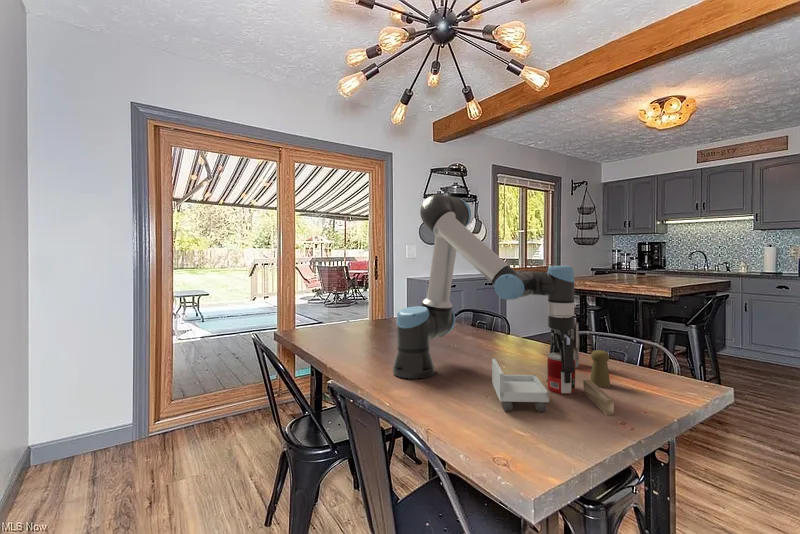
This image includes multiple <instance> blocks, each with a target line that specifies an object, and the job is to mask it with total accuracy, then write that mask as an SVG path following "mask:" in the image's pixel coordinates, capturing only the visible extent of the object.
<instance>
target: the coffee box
mask: <svg viewBox="0 0 800 534" xmlns="http://www.w3.org/2000/svg"><path fill="white" fill-rule="evenodd" d="M579 325H580V323H579V322H577V321H574V329H571V330H568V334H569V336H570V338H573V356H575V369H577V368H578V367H579V365H580V346H579V345H580V340H579V339H580V336H579V333H580V332H579V328H580V327H579Z"/></svg>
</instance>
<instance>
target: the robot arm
mask: <svg viewBox="0 0 800 534" xmlns="http://www.w3.org/2000/svg"><path fill="white" fill-rule="evenodd" d="M419 214H420V218H421V220H422V222H423V224H424V225H425V226H426V227H427V228H428V229H429V231H431V232H432V233H433V234H434V244H433V250H432V251H433V252H432V257H431V258H432V259H431V266H430V273H429V279H428V280H429V281H428V287H427V294H426V297H425V298H423V300H422V301H421V302H422V303H421V306H419V305H418V306H417V305H416V306H411V307H410V306H408V307H405V308H402V309H400V310H399V311H398V312H397V315H396V321H395V322H396V342H397V343H396V347H397V348H396V349H397V352H396V355H395V359H394V362H393V364H392V374H393V375H394V376H395V375H396V376H395V377H397V376H399V377H398V378H400V377H402V378H401V379H405V378H408V379H407V380H419V379H418V378H421V379H427V378H430V377H431V376H433V375H434V374H435V371H436V370H435V364H434V362H433V361H434V360H433V358H432V355H431V353H430V340H434V339H436V338H441V337H444V336H446V335H448V334H449V333H450V332H451V331H452V330H453V329H454V326H455V324H456V315H455V312H454V310H453V304H452V302H451V301H450V298H451V289H452V283H453V277H454V276H453V275H454V269H455V262H456V255H457V252H458V253H459V254H460V255H461V256H462V257H463V258H464V259H465V260H466V261H467V262H468V263H470V264H471V265H472V266H473V267H474V268H475V269H476V270H477V271H478V272H479V273H480V274H481V275H482V276H483V277H484V278H485V279H487V280H488V281H489V282H490V283H491V284H492V285H493V286H494V287H493V288H494V291H495V293H496V296H498V297H499V298H500V299H502V300H507V301H509V300H510V301H513V300H517V299H519V298H523V297H527V296H547V298H548V299H547V300H548V301H547V314H548V318H547V320H548V321H547V325H548V326H547V327H548V328H549V329H550V343H549V344H550V345H549V353H560V356H561V363H562V370H560V372H561V393H571V372H574V359H573V338H570V336H569V334H568V330H571V329H574V322H575V317H574V316H575V308H577V305H576V304H575V283H576V280H575V268H574V267H573V266H571V265H550V266H548V268H547V271H525V270H522V271H521V270H520V271H516V270H515V269H513V268H512V267H511V266H510V264H508V263H507V262H506V261H505V260H504V259H502V258H501V257H500V256H499V255H498V254H497V253H496V252H494V251H493V250H492V249H491V248H490V247H489V246H487V245H486V244H485V243H484V242H483V241H482V240H481V239H480V238H479V237H477V236H476V235H475V234H474V233H473V232H472V231H471V230H470V229H468V227H467V225H469V224H470V222H471V219H472V210H471V207H470V205H469V204H468V202H467V201H465V200H464V199H462V198H459V197H458V196H457V197H456V196H450V195H444V194H432V195H430V196H428V197H427V198H425V199H424V201H423V202H422V203H421V206H420V213H419ZM568 367H569V368H568Z"/></svg>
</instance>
